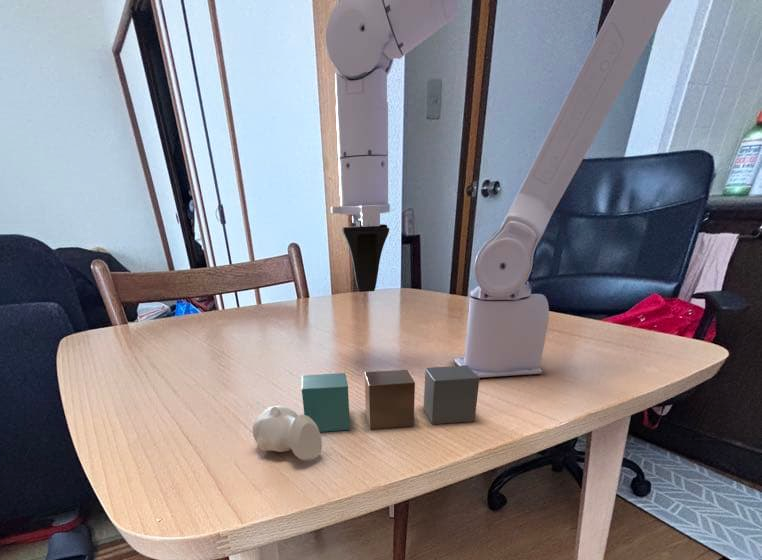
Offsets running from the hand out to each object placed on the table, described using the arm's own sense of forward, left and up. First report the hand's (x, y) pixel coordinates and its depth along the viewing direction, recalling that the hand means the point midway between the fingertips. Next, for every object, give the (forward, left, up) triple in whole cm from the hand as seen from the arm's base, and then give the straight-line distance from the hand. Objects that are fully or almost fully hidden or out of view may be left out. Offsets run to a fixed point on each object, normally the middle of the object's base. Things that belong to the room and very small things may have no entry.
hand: (366, 290), depth 62 cm
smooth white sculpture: (+11, +28, -10) cm, 31 cm away
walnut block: (0, +22, -9) cm, 23 cm away
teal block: (+7, +21, -9) cm, 24 cm away
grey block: (-6, +21, -9) cm, 24 cm away
